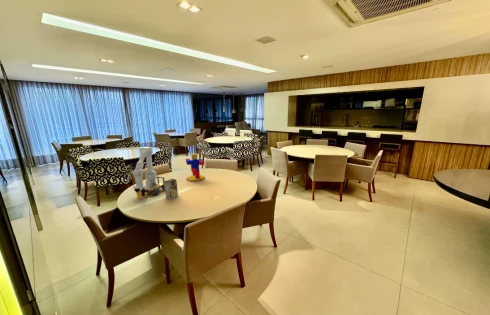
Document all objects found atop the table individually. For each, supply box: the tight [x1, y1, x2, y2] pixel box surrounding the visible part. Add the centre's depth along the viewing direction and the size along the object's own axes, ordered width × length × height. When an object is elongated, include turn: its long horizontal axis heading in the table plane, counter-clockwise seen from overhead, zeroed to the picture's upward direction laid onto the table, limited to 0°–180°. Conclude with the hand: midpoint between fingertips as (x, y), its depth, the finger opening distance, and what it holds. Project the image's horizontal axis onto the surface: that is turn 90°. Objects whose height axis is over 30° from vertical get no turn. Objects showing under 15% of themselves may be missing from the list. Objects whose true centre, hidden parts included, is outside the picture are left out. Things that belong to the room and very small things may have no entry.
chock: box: [136, 191, 149, 200], centre depth 178 cm, size 5×7×6 cm
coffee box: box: [164, 178, 179, 200], centre depth 177 cm, size 9×6×16 cm
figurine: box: [185, 153, 206, 183], centre depth 224 cm, size 22×22×30 cm
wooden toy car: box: [146, 176, 165, 196], centre depth 189 cm, size 17×14×13 cm
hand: (141, 195), depth 177 cm, fingers closed on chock, 5 cm apart
